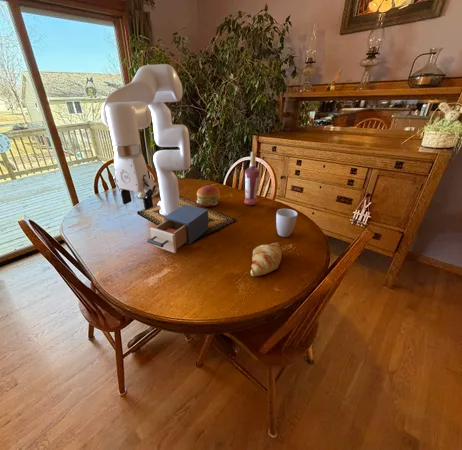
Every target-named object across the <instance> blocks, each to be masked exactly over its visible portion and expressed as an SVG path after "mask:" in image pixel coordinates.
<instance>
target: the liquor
mask: <svg viewBox="0 0 462 450" xmlns="http://www.w3.org/2000/svg"><path fill="white" fill-rule="evenodd" d="M256 157H257V151H250V160H249V161H250V162H249V167H247V168H245V170H244V201H243V203H244V204H245V205H247V206H249V207H252V206H255V205H256V204H257V203H258V201H257V196H258V187H259V186H258V185H259V180H260V169H259V168H258V167H256Z"/></svg>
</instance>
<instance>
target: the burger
mask: <svg viewBox="0 0 462 450" xmlns="http://www.w3.org/2000/svg"><path fill="white" fill-rule="evenodd" d="M220 201H221V192H220V190H219V188H218V187H217V186H214V185H204V186H202V187H200V188H198V190H197V191H196V204H198V205H199V206H201V207H205V208H209V207H210V208H211V207H215V206H217V205H219V203H220Z"/></svg>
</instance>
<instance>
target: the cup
mask: <svg viewBox="0 0 462 450" xmlns="http://www.w3.org/2000/svg"><path fill="white" fill-rule="evenodd" d="M275 216H276V217H275V218H276V219H275V222H276V232H277V234H278V236H280V237H283V238H288V237H290V236H291V234H292V233H293V231H294V229H295V225H296V223H297V220H298V219H297V218H298V212H297V211H296V210H294V209H291V208H280V209H277V211H276V215H275Z"/></svg>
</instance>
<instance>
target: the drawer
mask: <svg viewBox="0 0 462 450" xmlns="http://www.w3.org/2000/svg"><path fill="white" fill-rule="evenodd" d="M168 228H171V229H175V230H176V231H175V232H174V234H171V233H168V232H165V230H167V229H168ZM149 231H150V237H151V238H148V239H147V240H146V242H147V243H149V244H151V245H152V246H153V247H157V248H159V249H162V250H164V251H167V252H170V253H173V254H176V253H177V250H178V249H180V247H182V246H183V245H184V244H186V243H185V242H186V241H188V231H187V225H186V224H182V223H178V222H175V221H171V220H168V219H167V220H166V221H165V220H164V221H163V222H161V223H159V224H157V225H156V226H155V227H150V228H149Z"/></svg>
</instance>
